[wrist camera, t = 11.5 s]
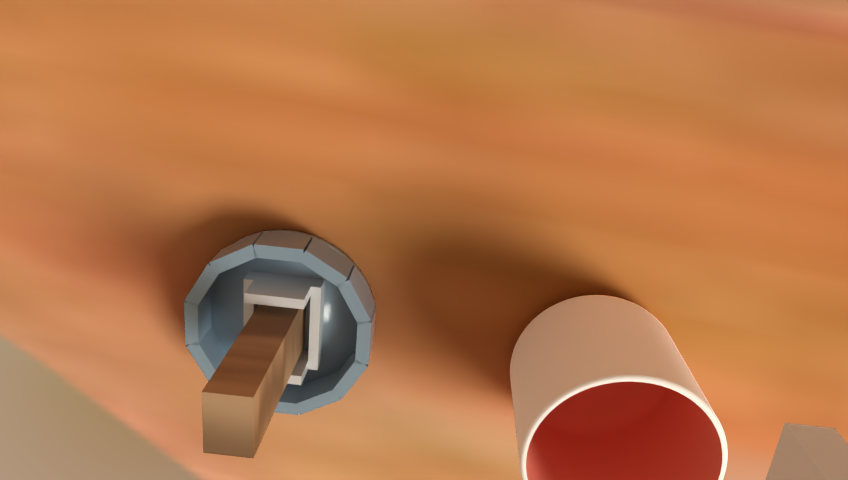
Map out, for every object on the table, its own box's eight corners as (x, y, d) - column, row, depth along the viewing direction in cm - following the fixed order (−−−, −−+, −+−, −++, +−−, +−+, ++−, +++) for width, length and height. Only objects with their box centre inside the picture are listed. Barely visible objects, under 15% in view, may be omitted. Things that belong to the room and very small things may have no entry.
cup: (488, 403, 44) (493, 515, 35) (539, 267, 41) (560, 351, 31) (634, 443, 45) (678, 565, 35) (697, 312, 41) (765, 408, 32)
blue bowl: (199, 220, 41) (175, 241, 37) (382, 240, 41) (374, 262, 37) (203, 377, 45) (182, 409, 41) (370, 396, 44) (362, 430, 41)
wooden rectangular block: (267, 291, 42) (201, 391, 31) (306, 295, 41) (253, 397, 31) (266, 340, 43) (203, 452, 32) (304, 344, 43) (253, 458, 32)
